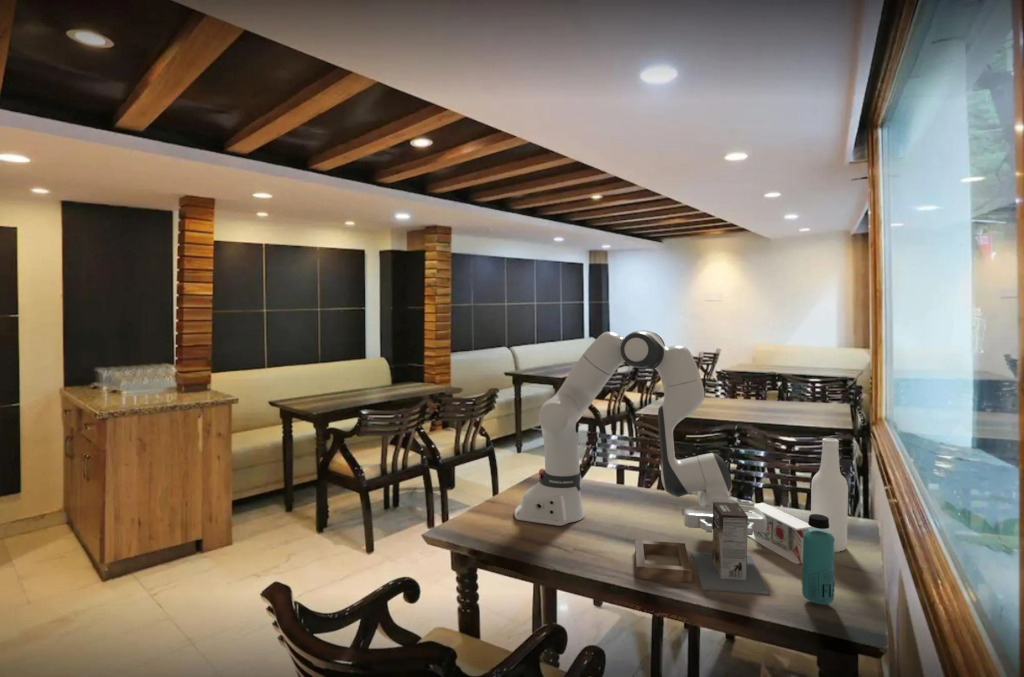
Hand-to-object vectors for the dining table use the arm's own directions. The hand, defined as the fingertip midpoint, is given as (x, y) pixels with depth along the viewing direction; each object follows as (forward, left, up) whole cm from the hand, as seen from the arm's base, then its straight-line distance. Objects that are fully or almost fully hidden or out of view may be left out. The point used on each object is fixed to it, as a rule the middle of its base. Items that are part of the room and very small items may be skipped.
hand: (729, 530), depth 140 cm
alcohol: (+30, +22, -11) cm, 39 cm away
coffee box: (0, +1, -11) cm, 11 cm away
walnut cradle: (-16, +2, -11) cm, 20 cm away
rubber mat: (0, +1, -11) cm, 11 cm away
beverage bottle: (+17, -11, -11) cm, 23 cm away
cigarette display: (+16, +18, -11) cm, 27 cm away
